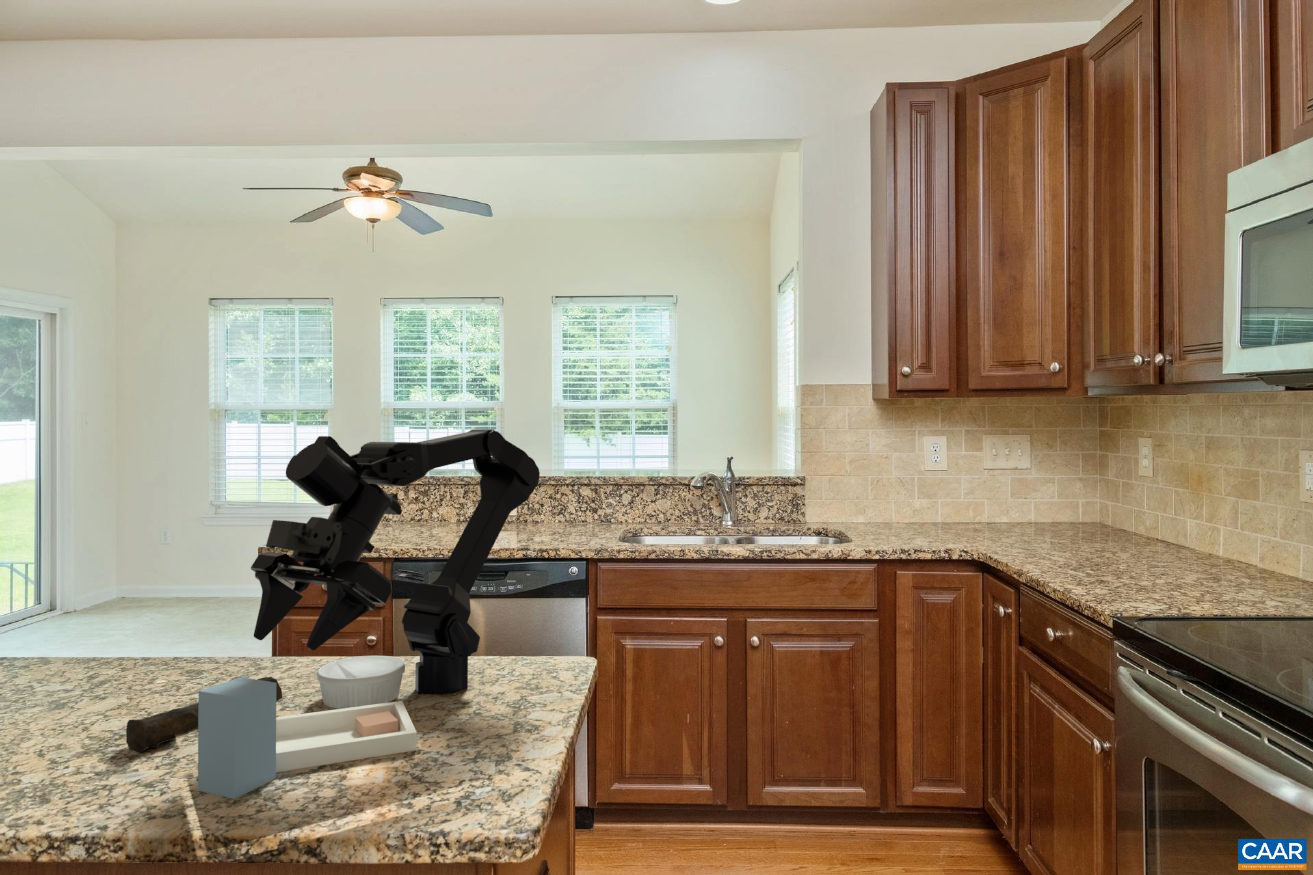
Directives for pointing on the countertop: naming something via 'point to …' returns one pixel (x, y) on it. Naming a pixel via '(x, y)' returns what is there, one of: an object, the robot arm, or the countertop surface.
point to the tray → (338, 737)
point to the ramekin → (360, 681)
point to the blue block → (236, 737)
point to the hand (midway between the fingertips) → (282, 643)
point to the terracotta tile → (376, 724)
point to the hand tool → (168, 724)
